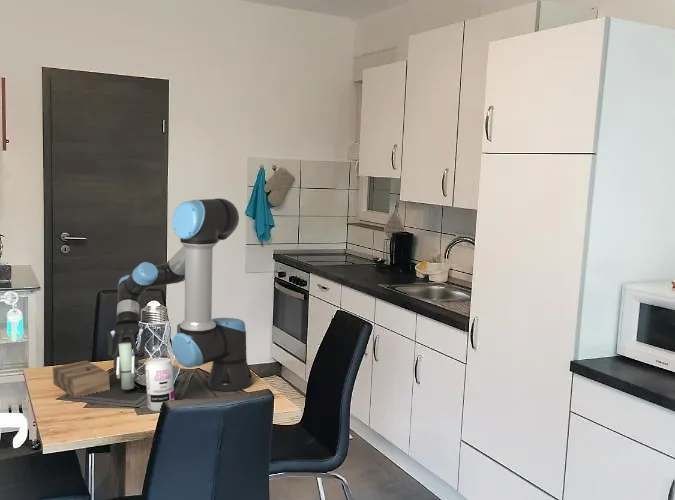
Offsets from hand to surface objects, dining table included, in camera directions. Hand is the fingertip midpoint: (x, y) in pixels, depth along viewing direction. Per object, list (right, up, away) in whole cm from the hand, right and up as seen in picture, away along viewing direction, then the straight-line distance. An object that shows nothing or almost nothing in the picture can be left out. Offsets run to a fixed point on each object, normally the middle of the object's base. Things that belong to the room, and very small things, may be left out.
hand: (125, 375), depth 223 cm
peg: (-1, -5, +4) cm, 6 cm away
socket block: (-19, -6, +12) cm, 24 cm away
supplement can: (+14, -9, -9) cm, 19 cm away
